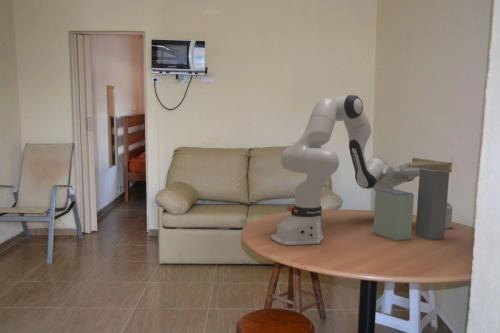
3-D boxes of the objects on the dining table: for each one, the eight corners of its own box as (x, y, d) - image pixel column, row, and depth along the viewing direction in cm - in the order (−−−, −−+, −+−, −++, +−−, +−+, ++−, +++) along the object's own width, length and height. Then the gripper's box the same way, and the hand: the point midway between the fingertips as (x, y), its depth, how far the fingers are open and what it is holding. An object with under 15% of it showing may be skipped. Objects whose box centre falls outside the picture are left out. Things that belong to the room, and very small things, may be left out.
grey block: (395, 240, 190) (398, 194, 187) (373, 232, 202) (375, 189, 200) (411, 238, 193) (414, 193, 191) (388, 230, 206) (391, 188, 203)
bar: (447, 172, 186) (448, 162, 185) (411, 166, 204) (412, 158, 203) (451, 172, 187) (452, 162, 186) (415, 166, 205) (416, 157, 204)
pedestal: (429, 240, 192) (434, 171, 188) (415, 235, 199) (419, 169, 195) (444, 237, 196) (449, 170, 192) (430, 233, 203) (434, 168, 199)
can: (453, 229, 210) (455, 204, 209) (437, 229, 211) (439, 204, 209) (446, 225, 218) (448, 201, 216) (431, 225, 218) (433, 201, 217)
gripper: (378, 169, 211) (397, 157, 199) (411, 168, 219) (431, 156, 208) (382, 182, 208) (402, 170, 197) (415, 180, 217) (435, 169, 205)
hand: (417, 163), depth 202 cm, fingers open, 8 cm apart
